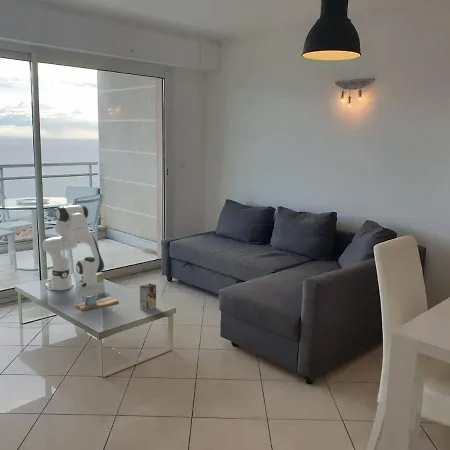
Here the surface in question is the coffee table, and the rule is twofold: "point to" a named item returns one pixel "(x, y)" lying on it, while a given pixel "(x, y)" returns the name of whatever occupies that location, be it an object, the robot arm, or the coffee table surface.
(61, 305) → the coffee table surface
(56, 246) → the robot arm
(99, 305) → the board
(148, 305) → the coffee box
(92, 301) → the block
